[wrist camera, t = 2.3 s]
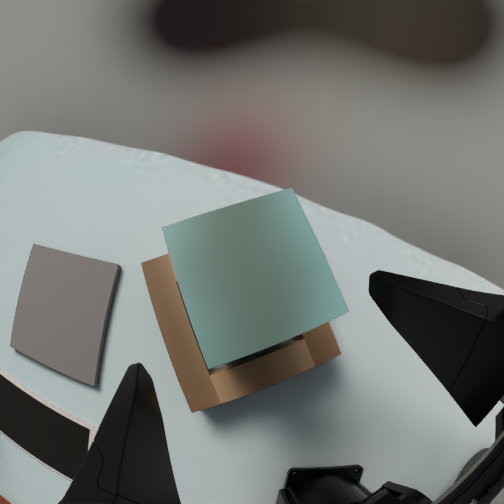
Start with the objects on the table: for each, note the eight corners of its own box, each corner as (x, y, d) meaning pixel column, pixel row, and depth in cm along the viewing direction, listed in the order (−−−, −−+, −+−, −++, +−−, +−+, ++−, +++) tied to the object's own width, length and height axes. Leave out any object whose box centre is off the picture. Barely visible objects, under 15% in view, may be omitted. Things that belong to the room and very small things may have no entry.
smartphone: (109, 494, 14) (106, 498, 13) (-10, 419, 14) (-15, 420, 13) (116, 433, 17) (112, 436, 16) (-7, 362, 17) (-12, 361, 16)
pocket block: (275, 232, 23) (282, 216, 20) (326, 353, 20) (341, 353, 17) (151, 274, 21) (141, 263, 18) (196, 403, 18) (191, 412, 15)
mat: (120, 266, 21) (118, 264, 20) (97, 385, 18) (93, 386, 17) (36, 245, 21) (33, 243, 20) (13, 346, 17) (10, 346, 17)
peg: (254, 278, 22) (291, 187, 9) (276, 333, 20) (348, 311, 8) (199, 298, 21) (161, 227, 8) (219, 354, 19) (208, 369, 7)
